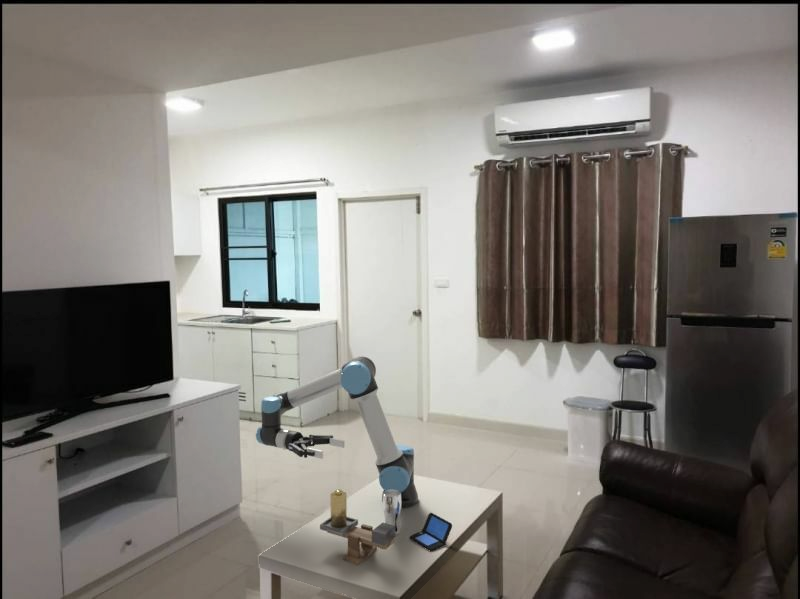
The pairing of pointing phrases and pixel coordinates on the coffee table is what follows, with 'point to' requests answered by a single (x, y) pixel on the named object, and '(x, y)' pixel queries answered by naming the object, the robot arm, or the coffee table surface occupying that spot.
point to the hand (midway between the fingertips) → (333, 449)
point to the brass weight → (338, 509)
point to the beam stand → (358, 547)
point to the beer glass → (392, 508)
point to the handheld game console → (433, 533)
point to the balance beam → (363, 532)
